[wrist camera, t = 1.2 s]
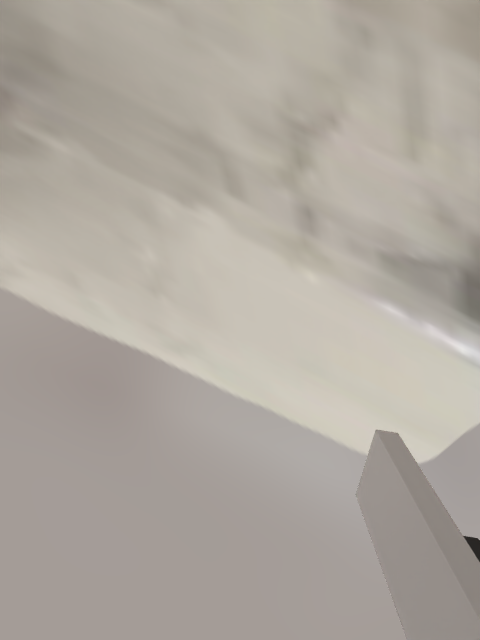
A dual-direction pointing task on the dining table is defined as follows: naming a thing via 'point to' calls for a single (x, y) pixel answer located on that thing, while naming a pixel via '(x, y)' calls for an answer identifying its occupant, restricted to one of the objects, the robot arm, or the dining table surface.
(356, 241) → the dining table surface
